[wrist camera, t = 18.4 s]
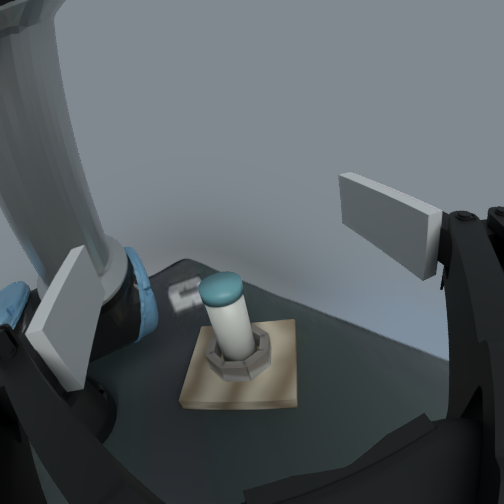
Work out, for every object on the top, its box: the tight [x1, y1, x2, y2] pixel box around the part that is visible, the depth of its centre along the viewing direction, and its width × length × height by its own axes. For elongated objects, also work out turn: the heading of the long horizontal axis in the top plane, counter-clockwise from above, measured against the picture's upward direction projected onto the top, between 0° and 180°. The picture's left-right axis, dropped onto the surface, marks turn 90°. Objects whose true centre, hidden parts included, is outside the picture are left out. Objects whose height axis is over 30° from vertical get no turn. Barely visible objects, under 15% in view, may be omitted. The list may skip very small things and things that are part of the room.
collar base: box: [179, 319, 297, 410], centre depth 44 cm, size 16×16×5 cm
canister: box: [198, 272, 257, 362], centre depth 41 cm, size 5×5×14 cm
